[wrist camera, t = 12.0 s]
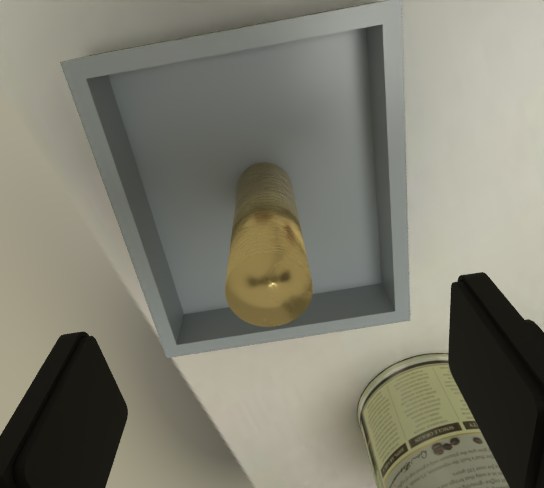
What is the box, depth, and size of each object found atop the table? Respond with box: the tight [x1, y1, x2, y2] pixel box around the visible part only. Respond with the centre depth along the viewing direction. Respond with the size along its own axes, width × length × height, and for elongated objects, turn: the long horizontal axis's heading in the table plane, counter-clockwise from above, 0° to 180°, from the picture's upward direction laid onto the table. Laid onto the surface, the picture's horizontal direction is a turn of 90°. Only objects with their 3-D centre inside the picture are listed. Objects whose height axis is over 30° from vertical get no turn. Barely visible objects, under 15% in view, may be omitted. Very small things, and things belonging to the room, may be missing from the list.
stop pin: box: [225, 162, 313, 327], centre depth 19 cm, size 3×3×10 cm
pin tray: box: [60, 0, 410, 358], centre depth 23 cm, size 16×14×4 cm
